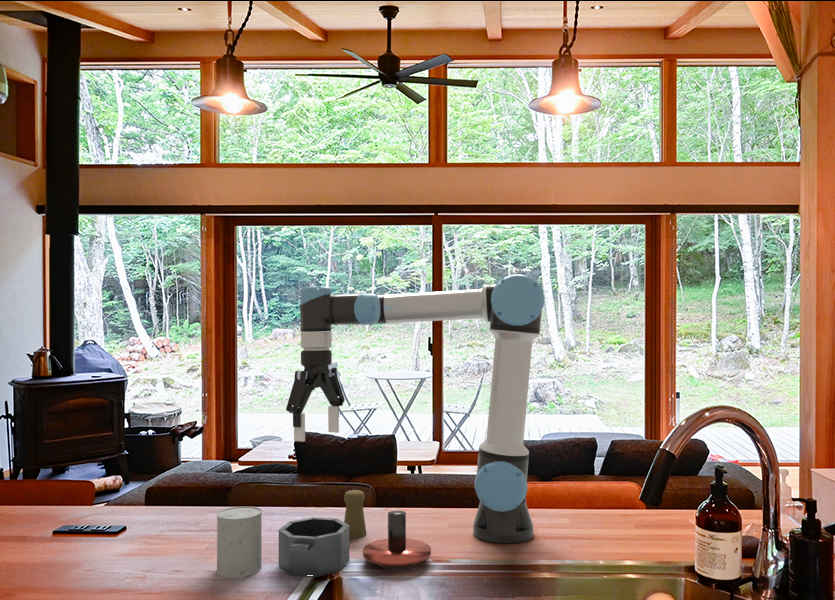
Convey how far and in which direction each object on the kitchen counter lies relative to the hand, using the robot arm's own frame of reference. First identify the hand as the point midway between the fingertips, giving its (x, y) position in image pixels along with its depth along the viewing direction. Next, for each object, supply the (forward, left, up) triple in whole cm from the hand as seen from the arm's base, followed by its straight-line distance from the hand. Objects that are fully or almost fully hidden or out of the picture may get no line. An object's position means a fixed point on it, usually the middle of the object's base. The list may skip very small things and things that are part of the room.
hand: (317, 436), depth 160 cm
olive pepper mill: (-7, -8, -26) cm, 28 cm away
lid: (-22, +9, -26) cm, 35 cm away
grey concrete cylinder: (+11, +19, -26) cm, 34 cm away
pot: (-4, +13, -26) cm, 29 cm away
